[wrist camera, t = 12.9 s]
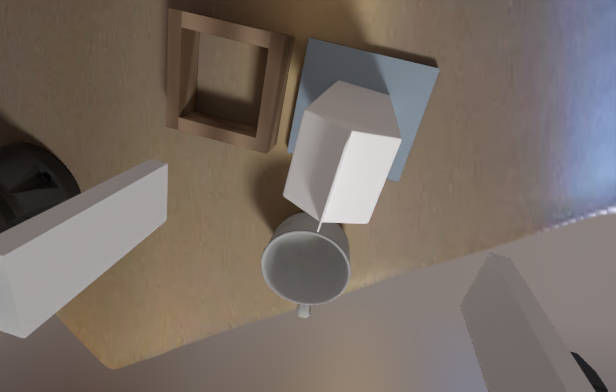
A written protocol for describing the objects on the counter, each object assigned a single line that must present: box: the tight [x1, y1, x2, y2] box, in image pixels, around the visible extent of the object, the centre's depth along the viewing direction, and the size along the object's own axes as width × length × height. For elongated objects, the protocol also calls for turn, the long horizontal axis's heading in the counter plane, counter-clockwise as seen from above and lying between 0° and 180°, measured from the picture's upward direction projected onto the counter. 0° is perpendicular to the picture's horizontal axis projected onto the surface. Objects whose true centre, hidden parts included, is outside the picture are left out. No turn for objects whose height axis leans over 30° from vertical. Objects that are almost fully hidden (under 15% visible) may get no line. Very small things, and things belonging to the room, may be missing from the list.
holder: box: [166, 8, 295, 154], centre depth 37 cm, size 12×12×4 cm
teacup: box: [261, 212, 351, 318], centre depth 43 cm, size 14×11×8 cm
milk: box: [283, 80, 402, 232], centre depth 27 cm, size 6×6×22 cm
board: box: [287, 38, 440, 182], centre depth 38 cm, size 14×13×1 cm
